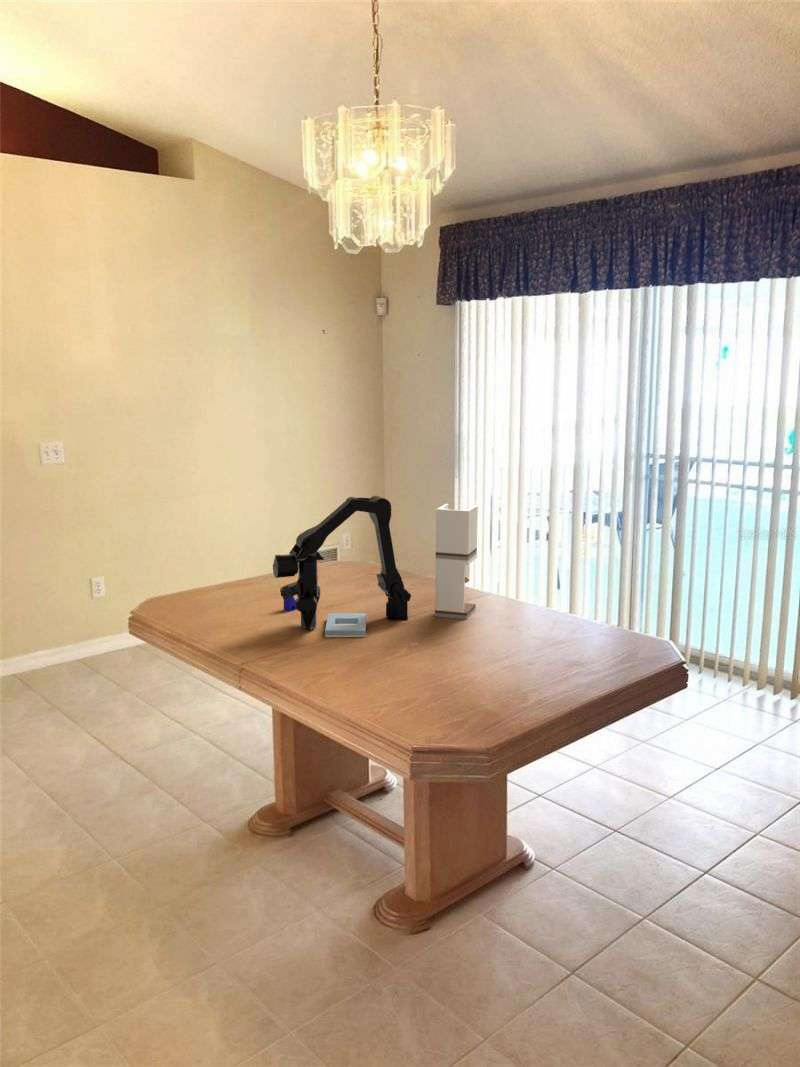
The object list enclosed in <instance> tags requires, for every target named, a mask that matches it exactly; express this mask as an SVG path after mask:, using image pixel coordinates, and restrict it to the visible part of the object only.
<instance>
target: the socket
mask: <svg viewBox="0 0 800 1067" xmlns="http://www.w3.org/2000/svg"><path fill="white" fill-rule="evenodd" d="M366 628H367V613H366V612H364V613H363V612H361V613H359V612H358V613H357V612H355V613H354V612H352V613H351V612H350V613H346V612H345V613H344V612H343V613H340V612H338V613H337V612H335V613H332V612H331V613H328V614H327V619H326V624H325V629H324V637H325V638H347V637H348V638H350V637H351V638H353V637H354V638H366V632H367V630H366Z"/></svg>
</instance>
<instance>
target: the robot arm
mask: <svg viewBox="0 0 800 1067" xmlns="http://www.w3.org/2000/svg"><path fill="white" fill-rule="evenodd" d="M356 512H364V513H368V515H369V517H370V519H371V521H372V523H373V525H374V529H375V535H376V541H377V547H378V554H379V558H380V565H381V571H380V573H377V574H376V579H377V586H378V587H379V588H380V589H381V591H382V592H384V594H385V596H386V597H387V601H386V602H385V616H386V618H387V621H390V620H391V621H408V620H409V616H408V614H409V613H408V610H409V608H408V607H409V606H408V603H409V602H410V601H411V598H412V594H411V593H410V592H409V591H408V590H407V589H406V588H405V585H404V581H403V578H402V576H401V575H400V572H399V570H398V568H397V566H396V558H395V552H394V547H393V541H392V535H391V533H392V532H391V527H390V522H391V519H392V504H391V502H390V501H389V499H387V498H385V497H382V496H378V495H372V496H371V497H354V496H349V497H347V498H346V499H345V501H344V502H342V504H340V505H339V506H338V507H337V508H336V509H335V510H333V511H332V512H331V513H330V514H329V515H327V517H325V518H324V519H323V520H322V521H320V523H318V524H316V525H315V526H313V527H310V528H308V529H307V530H305V531H303V532H301V533H300V534H298V536H297V537H296V542H295V544H294V545H293V547H292V548H291V550H290V551H289V553H288V554H275V555H274V559H273V564H272V571H273V575H274V578H275V579H279V578H280V579H281V578H291V577H295V576H296V575H297V574H298V578H297V580H296V581H294V582H291V583H288V584H286V585H283V586H281V587H280V589H279V591H280V592H279V593H280V596H281V597H282V599H283V601H284V600H285V599H287V598H289V597H292V596H294V597H295V596H296V597H297V598H298V597H299V598H298V599H297V598H296V599H297V600H296V599H295V600H296V611H298V612H300V614H301V613H302V615H303V619H304V623H305V626H306V628H305V629H311V628H310V626H311V623H312V620H313V618H314V615H315V612H316V613H317V610H318V603H319V601H320V597H321V587H320V586H319V585H318V584H319V583H318V580H319V575H318V561H324V560H325V557H324V556H322V554H321V553H320V552H319V550H320V548H321V547H322V546H323V545H324V543H325V541H326V539H327V538H328V537H329V536H330V535H331V534H332V533H333V532H334V531H335V530H336V529H338V528H339V526H341V525H342V524H344V523H345V521H347V519H349V518H350V517H351V516H353V514H354V513H356Z"/></svg>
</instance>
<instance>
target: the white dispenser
mask: <svg viewBox="0 0 800 1067" xmlns="http://www.w3.org/2000/svg"><path fill="white" fill-rule="evenodd" d="M449 505H450V504H449V503H445V504H443V505H441V506H440V507H437V508H436V510H435V570H434V571H435V572H434V573H435V576H434V577H435V578H434V579H435V580H434V582H435V583H434V616H435V617H439V618H448V619H449V618H451V619H461V620H468V619H469V618H470V617H471V615H472V614H473V613H475V612H476V609H477V608H476V603H468V602H465V594H466V593H465V590H466V589H465V588H466V587H465V585H466V584H467V583H468V582H470V574H471V573H470V571H471V570H470V569H471V568H470V567H471V566H470V564H471V563H472V562H473V561H474V560H475V559H476V558H478V555H477V554H478V551H477V550H478V514H479V513H478V512H479V510H478V506H479V505H477V504H475V505H473V506H472V507H470V508H467V509H450V508H449ZM469 616H470V617H469Z"/></svg>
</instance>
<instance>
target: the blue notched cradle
mask: <svg viewBox="0 0 800 1067" xmlns="http://www.w3.org/2000/svg"><path fill="white" fill-rule="evenodd" d="M298 598H299V597H297V598H296V599H295V595H294V596H292V597H289V598H287V599H285V600H283V610H284V611H287V612H293V611H297V609H296V600H297V599H298Z"/></svg>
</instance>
